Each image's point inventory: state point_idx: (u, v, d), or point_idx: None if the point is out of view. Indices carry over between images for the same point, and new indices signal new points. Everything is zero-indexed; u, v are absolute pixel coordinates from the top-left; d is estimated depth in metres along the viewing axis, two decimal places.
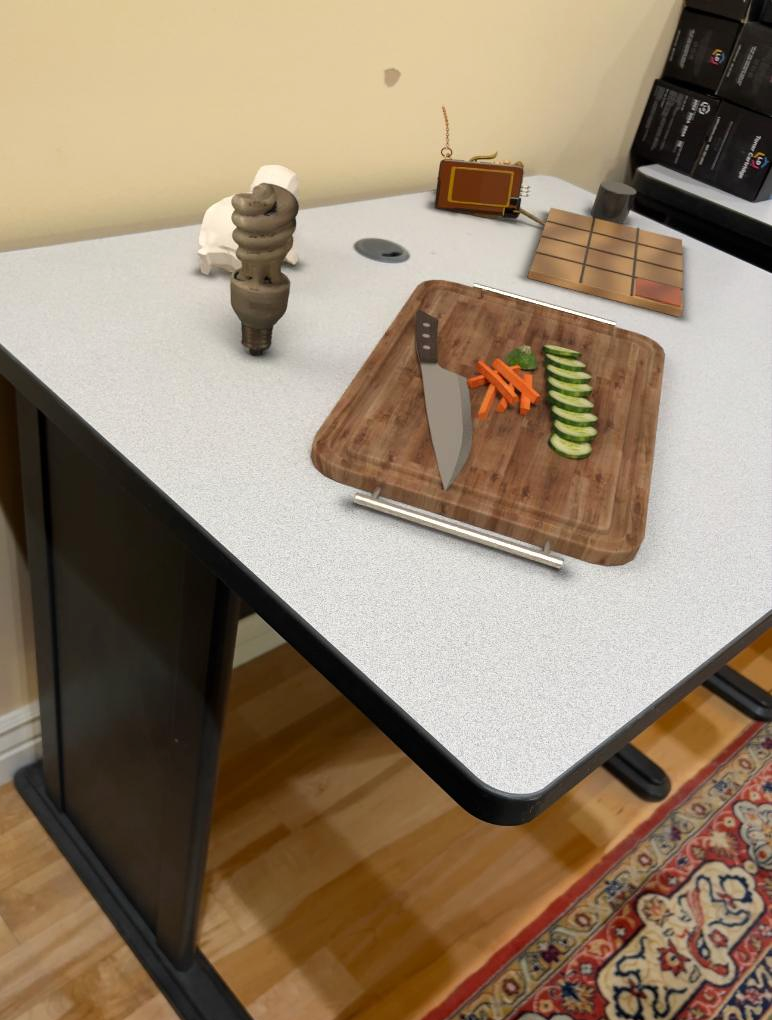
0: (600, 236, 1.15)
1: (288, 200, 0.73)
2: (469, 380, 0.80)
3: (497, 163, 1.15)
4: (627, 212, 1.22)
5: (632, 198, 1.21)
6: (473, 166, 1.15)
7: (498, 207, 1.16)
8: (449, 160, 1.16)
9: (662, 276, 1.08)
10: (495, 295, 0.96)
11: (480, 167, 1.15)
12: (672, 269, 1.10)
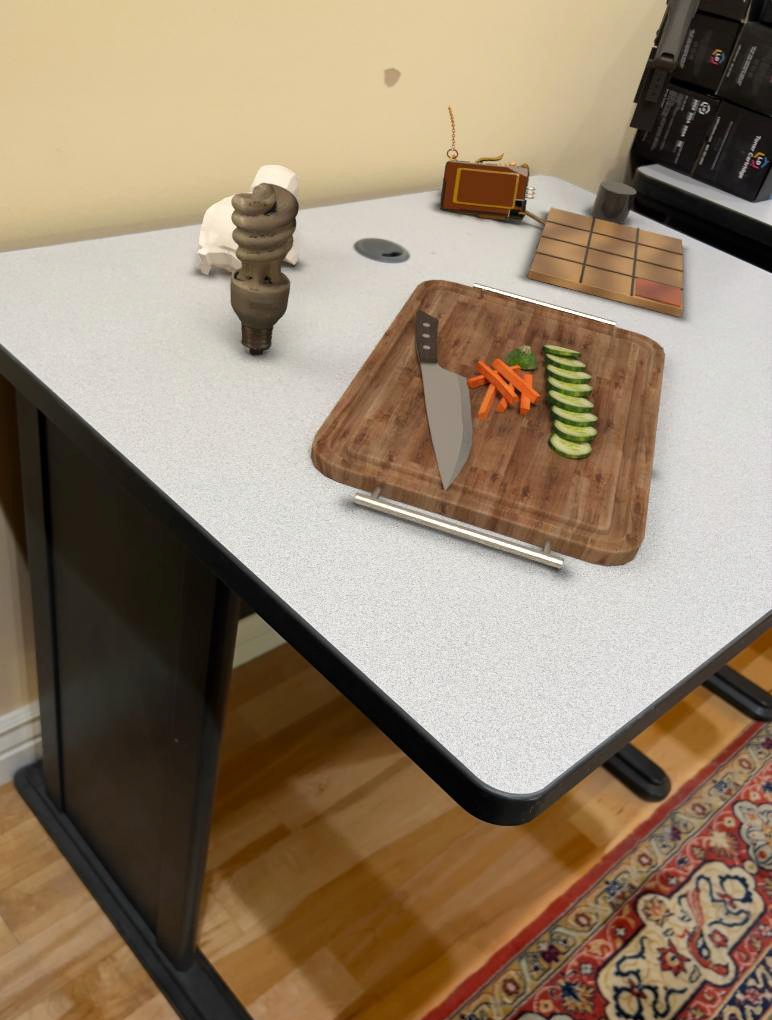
0: (600, 236, 1.15)
1: (288, 200, 0.73)
2: (469, 380, 0.80)
3: (503, 165, 1.15)
4: (627, 212, 1.22)
5: (632, 198, 1.21)
6: (479, 167, 1.15)
7: (503, 209, 1.16)
8: (455, 161, 1.15)
9: (662, 276, 1.08)
10: (495, 295, 0.96)
11: (486, 168, 1.15)
12: (672, 269, 1.10)
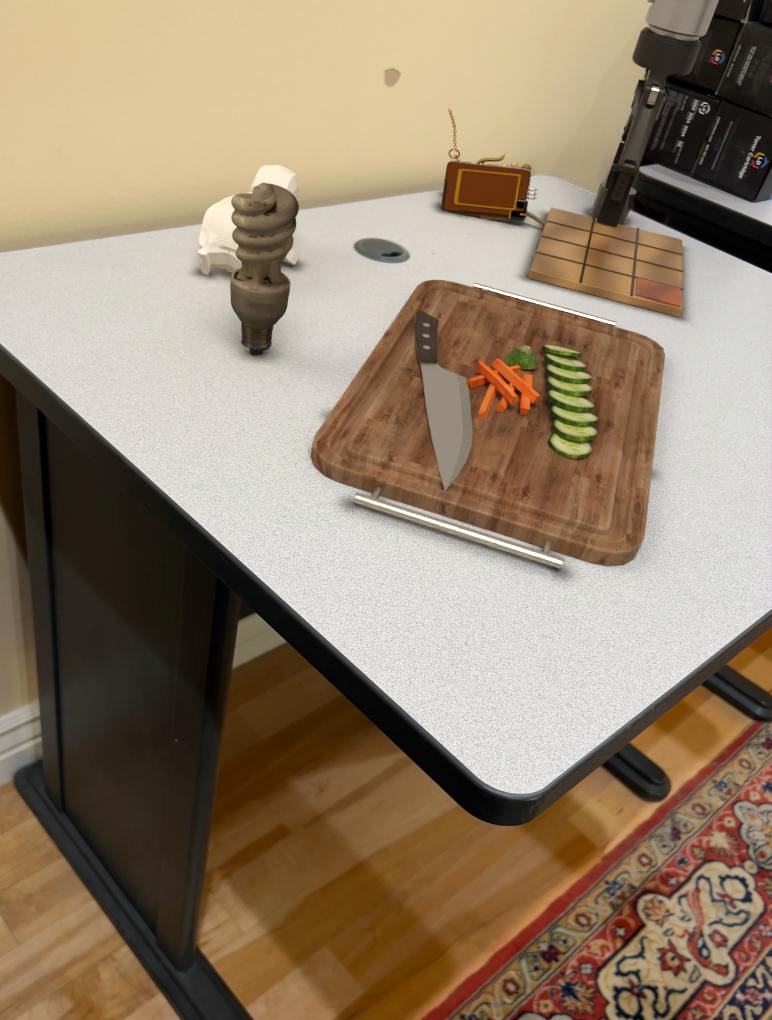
0: (600, 236, 1.15)
1: (288, 200, 0.73)
2: (469, 380, 0.80)
3: (504, 165, 1.15)
4: (627, 212, 1.22)
5: (632, 198, 1.21)
6: (480, 168, 1.15)
7: (504, 210, 1.16)
8: (456, 162, 1.15)
9: (662, 276, 1.08)
10: (495, 295, 0.96)
11: (487, 169, 1.15)
12: (672, 269, 1.10)
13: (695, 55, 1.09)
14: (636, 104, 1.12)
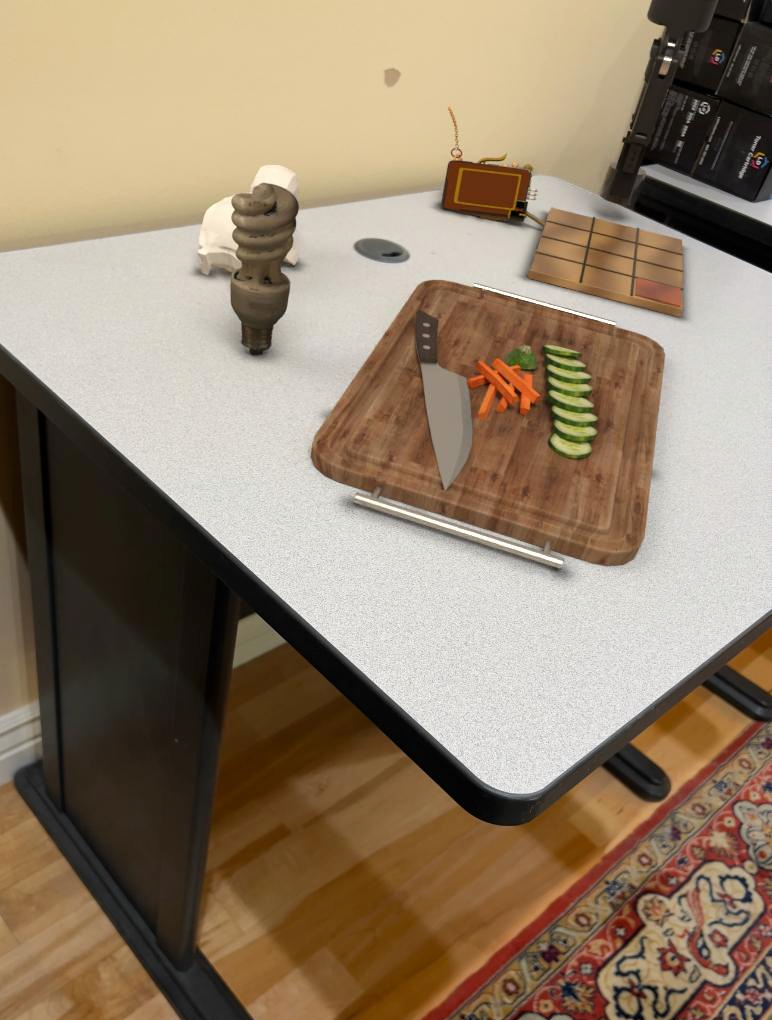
0: (600, 236, 1.15)
1: (288, 200, 0.73)
2: (469, 380, 0.80)
3: (505, 165, 1.15)
4: (637, 193, 1.20)
5: (642, 179, 1.19)
6: (481, 168, 1.15)
7: (504, 210, 1.16)
8: (457, 161, 1.16)
9: (662, 276, 1.08)
10: (495, 295, 0.96)
11: (488, 169, 1.15)
12: (672, 269, 1.10)
13: (712, 10, 1.05)
14: (650, 68, 1.10)
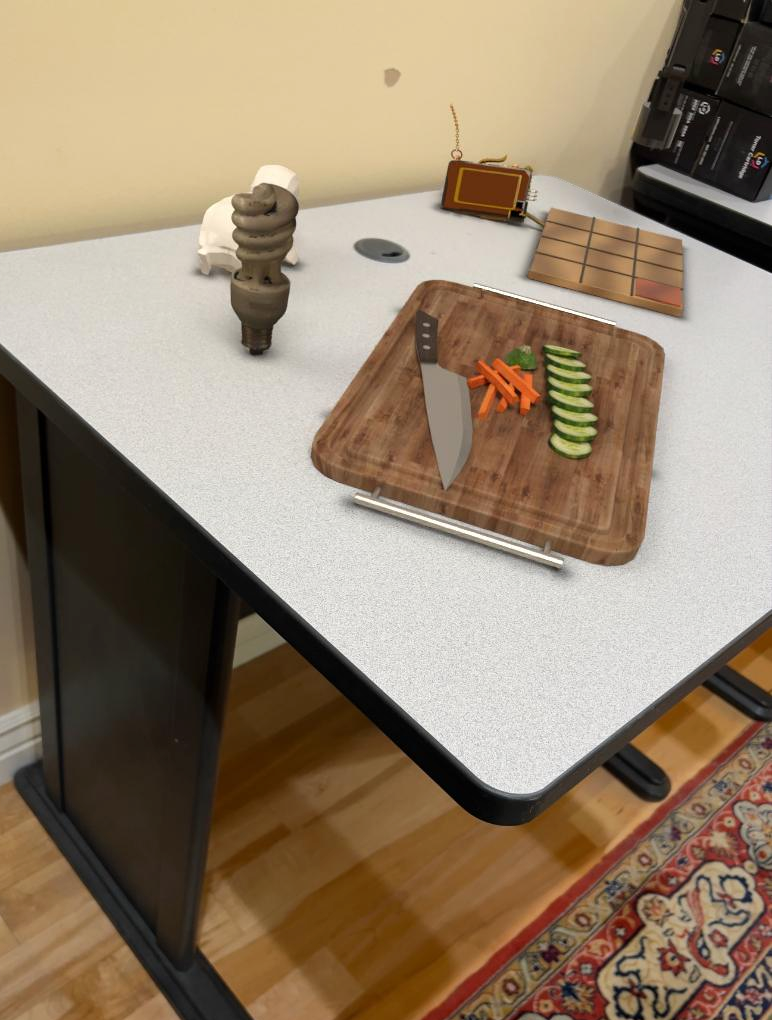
0: (600, 236, 1.15)
1: (288, 200, 0.73)
2: (469, 380, 0.80)
3: (505, 166, 1.15)
4: (671, 135, 1.11)
5: (677, 119, 1.09)
6: (481, 168, 1.15)
7: (504, 209, 1.15)
8: (458, 161, 1.16)
9: (662, 276, 1.08)
10: (495, 295, 0.96)
11: (488, 169, 1.15)
12: (672, 269, 1.10)
13: None
14: None
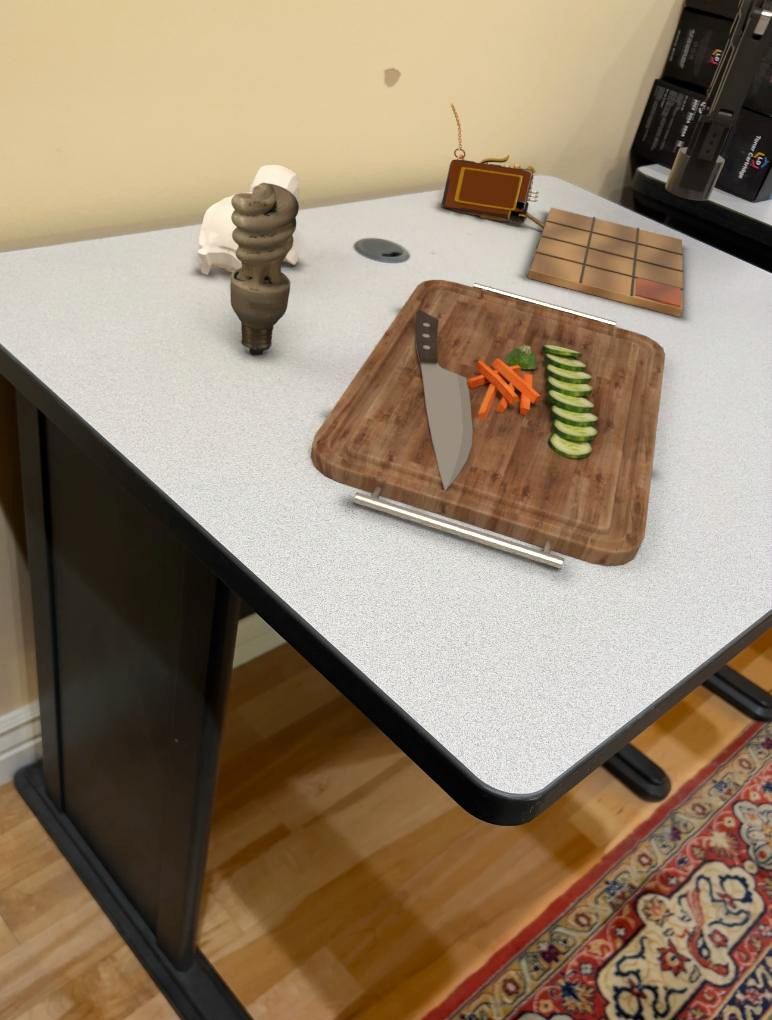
0: (600, 236, 1.15)
1: (288, 200, 0.73)
2: (469, 380, 0.80)
3: (507, 166, 1.15)
4: (712, 186, 0.97)
5: (720, 168, 0.96)
6: (483, 168, 1.15)
7: (504, 210, 1.15)
8: (459, 160, 1.16)
9: (662, 276, 1.08)
10: (495, 295, 0.96)
11: (489, 169, 1.15)
12: (672, 269, 1.10)
13: None
14: (740, 27, 0.87)
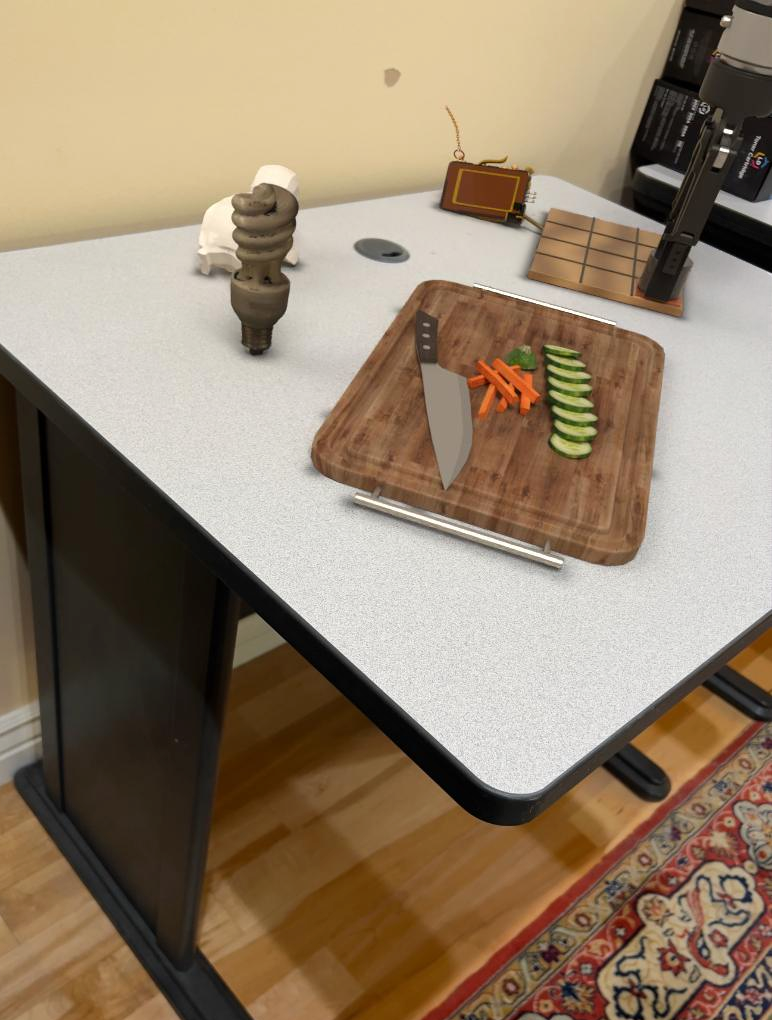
0: (600, 236, 1.15)
1: (288, 200, 0.73)
2: (469, 380, 0.80)
3: (504, 167, 1.14)
4: (682, 287, 1.02)
5: (688, 271, 1.00)
6: (480, 169, 1.15)
7: (501, 211, 1.15)
8: (457, 162, 1.16)
9: None
10: (495, 295, 0.96)
11: (487, 170, 1.15)
12: None
13: None
14: (700, 157, 0.92)
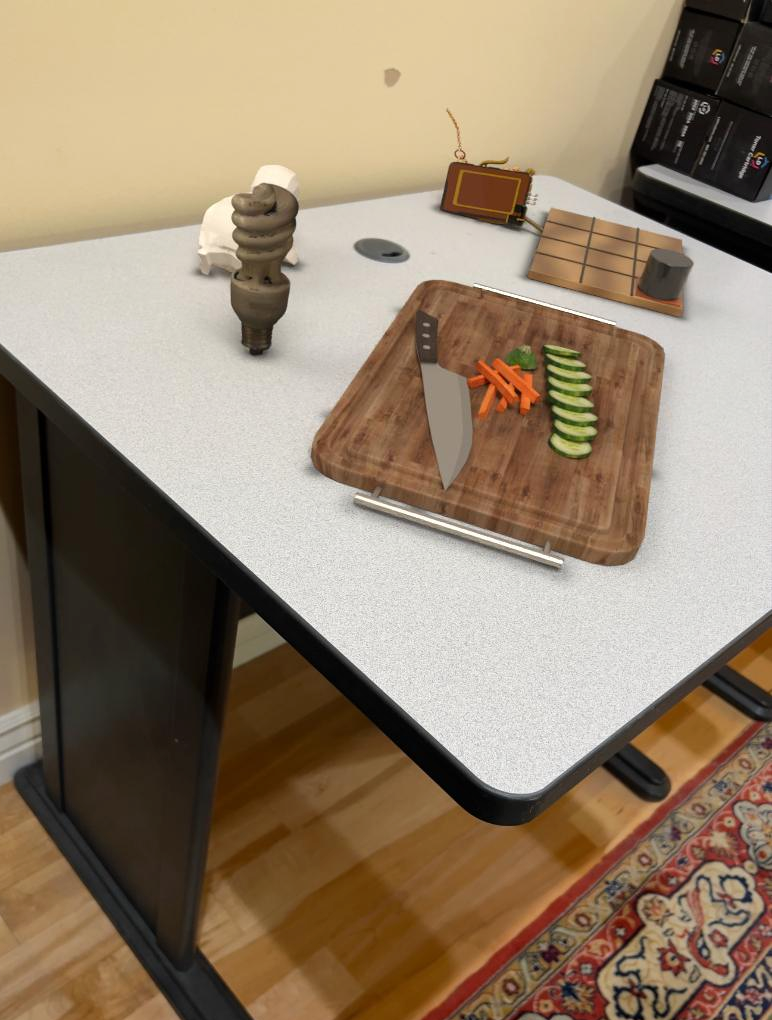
0: (600, 236, 1.15)
1: (288, 200, 0.73)
2: (469, 380, 0.80)
3: (506, 169, 1.13)
4: (682, 287, 1.02)
5: (688, 271, 1.00)
6: (481, 170, 1.14)
7: (502, 214, 1.15)
8: (458, 163, 1.15)
9: None
10: (495, 295, 0.96)
11: (488, 172, 1.14)
12: None
13: None
14: None
